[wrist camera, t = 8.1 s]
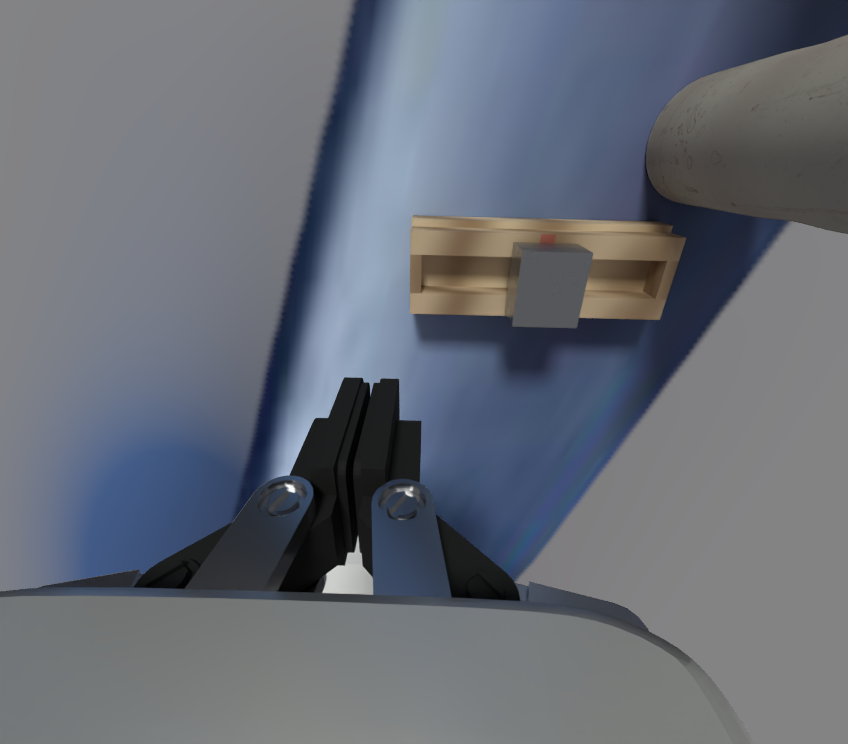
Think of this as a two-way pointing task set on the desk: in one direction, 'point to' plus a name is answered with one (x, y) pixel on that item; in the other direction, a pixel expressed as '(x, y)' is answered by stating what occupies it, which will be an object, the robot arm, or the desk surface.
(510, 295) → the block
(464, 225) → the rail
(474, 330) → the desk surface
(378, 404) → the robot arm
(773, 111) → the thermos bottle
